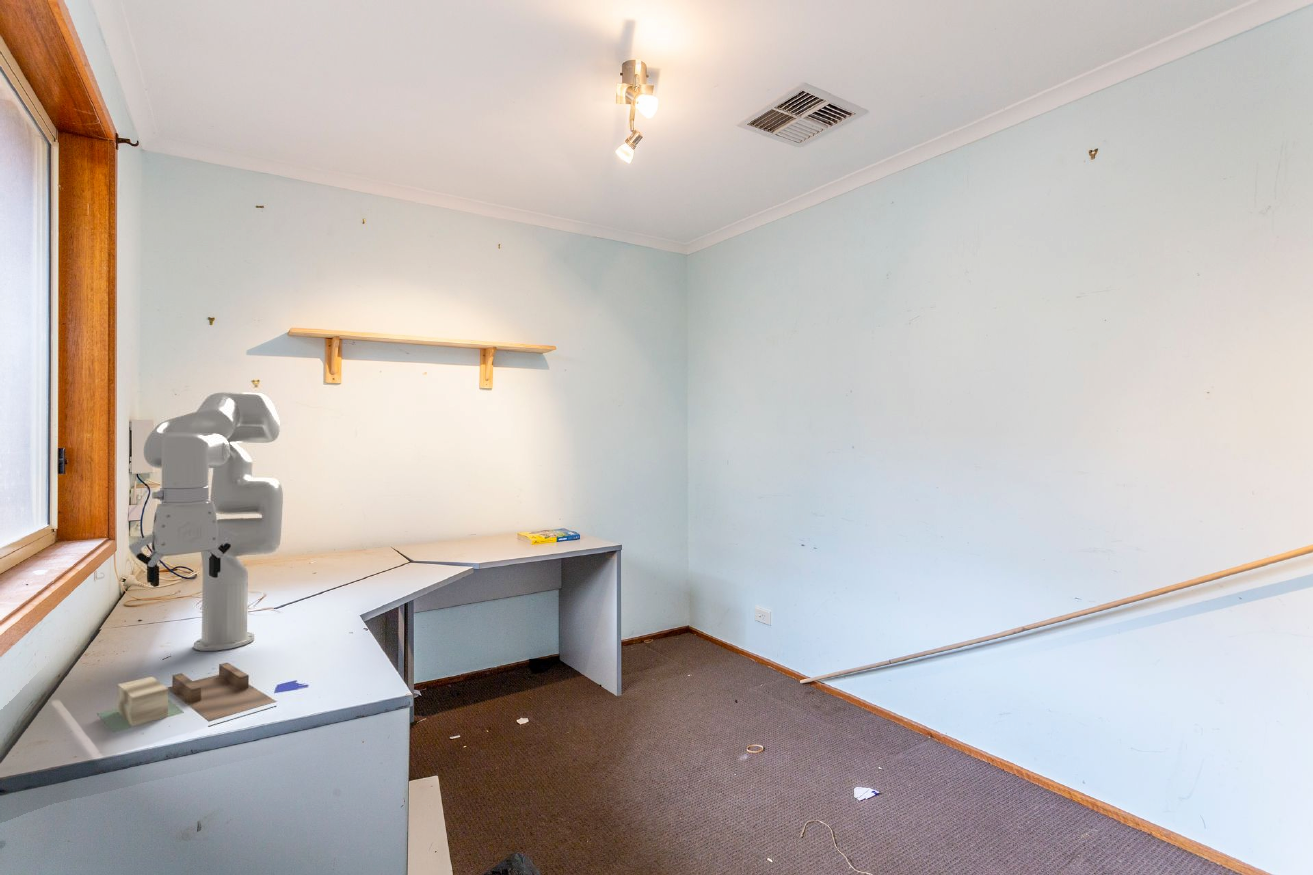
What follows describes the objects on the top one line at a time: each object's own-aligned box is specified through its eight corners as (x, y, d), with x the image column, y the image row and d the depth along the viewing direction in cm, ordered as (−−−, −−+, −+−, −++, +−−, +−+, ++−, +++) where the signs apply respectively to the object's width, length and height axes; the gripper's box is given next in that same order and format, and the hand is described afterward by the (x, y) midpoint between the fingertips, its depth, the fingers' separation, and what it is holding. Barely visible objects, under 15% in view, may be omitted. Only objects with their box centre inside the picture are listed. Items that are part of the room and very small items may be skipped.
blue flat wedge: (318, 686, 126) (319, 667, 137) (271, 693, 122) (276, 673, 133) (318, 694, 126) (319, 674, 137) (271, 701, 122) (276, 680, 133)
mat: (96, 718, 113) (97, 713, 113) (164, 700, 121) (164, 695, 121) (113, 737, 106) (113, 731, 106) (184, 717, 114) (184, 712, 114)
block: (117, 711, 114) (117, 684, 114) (151, 702, 118) (151, 676, 118) (132, 726, 108) (132, 697, 108) (167, 716, 112) (168, 688, 112)
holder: (166, 692, 125) (166, 675, 125) (229, 676, 134) (229, 660, 134) (208, 726, 110) (209, 707, 110) (276, 706, 119) (276, 688, 119)
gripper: (134, 501, 114) (134, 592, 114) (241, 494, 128) (241, 576, 128) (124, 497, 119) (124, 585, 119) (229, 491, 132) (228, 570, 133)
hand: (184, 580), depth 124 cm, fingers open, 9 cm apart
